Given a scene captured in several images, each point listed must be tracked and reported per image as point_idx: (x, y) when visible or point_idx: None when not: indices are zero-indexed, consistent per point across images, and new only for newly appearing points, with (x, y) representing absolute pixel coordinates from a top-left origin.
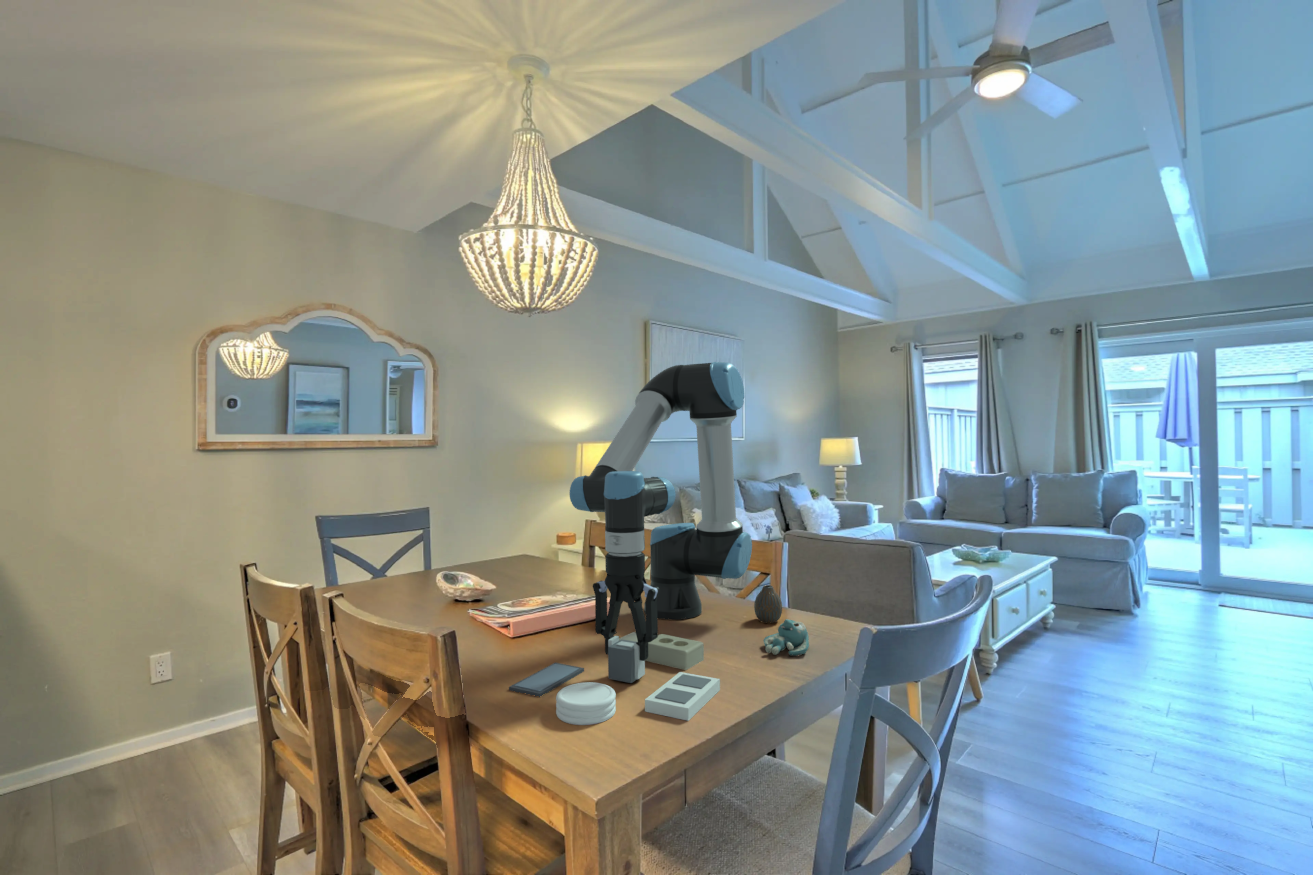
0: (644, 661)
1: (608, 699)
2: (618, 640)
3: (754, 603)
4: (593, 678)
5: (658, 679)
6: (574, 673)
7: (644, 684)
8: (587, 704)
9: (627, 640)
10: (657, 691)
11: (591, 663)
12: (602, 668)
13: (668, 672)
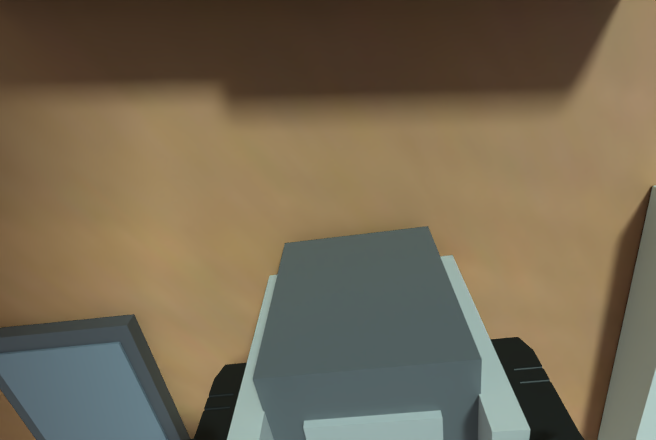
0: (472, 303)
1: None
2: (265, 419)
3: None
4: (236, 349)
5: (516, 211)
6: (152, 381)
7: (479, 292)
8: None
9: (317, 378)
10: (646, 437)
11: (65, 226)
12: (168, 247)
13: (528, 90)
